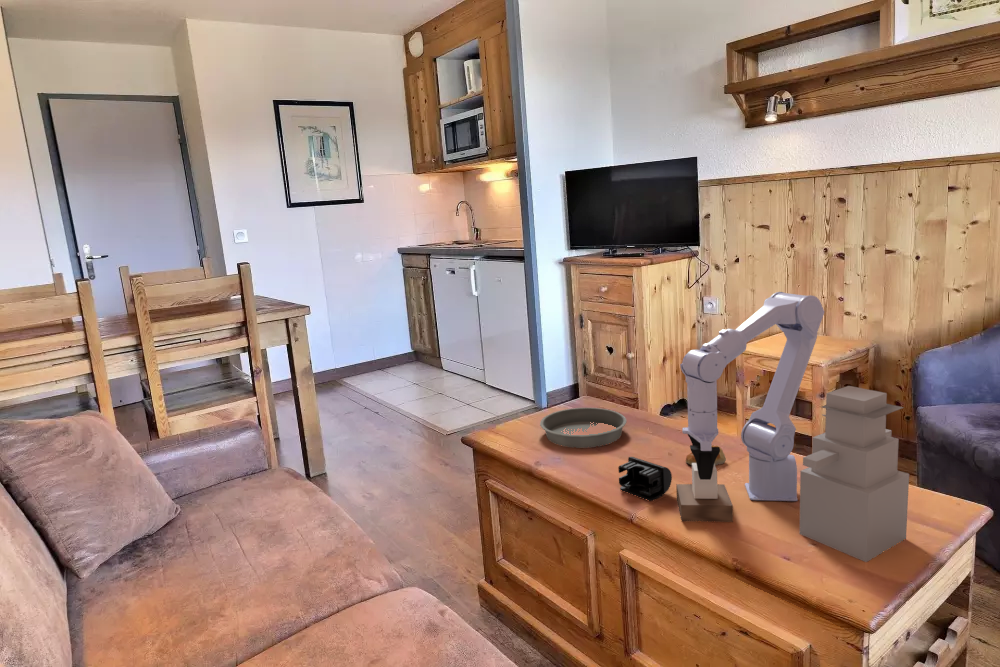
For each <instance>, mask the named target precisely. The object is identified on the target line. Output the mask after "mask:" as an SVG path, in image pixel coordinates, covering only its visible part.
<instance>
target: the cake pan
mask: <svg viewBox="0 0 1000 667" xmlns="http://www.w3.org/2000/svg"><path fill="white" fill-rule="evenodd" d="M590 422H591V423H593V422H594V423H593V424H594V426H596V425H597V424H598V423H604V424H608V425H612V426H614V427H616V429H613V430H611V431H607V432H603V433H598V434H589V435H571V431H572V432H573V431H574V429H575V432H576V431H577V429H578V428H579V429H581V428H582V431H583V432H584V430H585V429H586V430H587V429H588V428H589V427H590V424H591V423H590ZM627 422H628V421H627V417H625V416H624V415H623V414H622V413H620V412H618V411H616V410H615V411H614V410H611V409H607V408H600V407H576V408H575V407H573V408H567V409H561V410H557V411H554V412H551V413H549V414H546V415H545V416H544V417H542V419H541V420H540V422H539V426H540V428H541V429H542V430H544V431H545V436H546V438H547V440H548V441H549V442H550V443H553V444H555V445H557V444H558V445H557V446H561V445H562V447H566V446H567V447H566V448H574V447H576V449H580V448H581V449H583V448H585V449H587V448H588V447H589V448H596V446H598V447H602V445H603V446H607V445H610V444H612V442H613V443H614V441H615V442H617V441H618V440H619V439H620V438H621V437H620V436H622V434H623V433H622V432H623V428H624V427H626V424H627ZM596 423H597V424H596ZM593 424H591V426H592V425H593ZM592 427H593V426H592ZM565 428H566V429H565ZM564 429H565V432H567V431H569V434H570V435H569V434H567V433H568V432H567V433H566V434H564V433H563V432H564V431H563V430H564ZM568 429H569V430H568ZM571 429H572V430H571ZM566 430H567V431H566ZM586 430H585V431H586ZM561 431H562V432H561ZM579 431H580V430H579ZM579 431H578V432H579ZM586 432H587V431H586ZM573 433H574V432H573ZM573 433H572V434H573ZM617 439H618V440H617ZM609 443H610V444H609ZM606 444H607V445H606Z"/></svg>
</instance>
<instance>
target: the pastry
mask: <svg viewBox="0 0 1000 667" xmlns="http://www.w3.org/2000/svg"><path fill="white" fill-rule="evenodd" d="M712 447H719V448H720V453H719V455H718V456H717V458H716V460H715V463H714V464H715V466H719V465H722V464H724V463H725V462H726V461H727V457H726V455H725V453H724V451H723V449H722V448H721V446H720V445H714V444H713V445H712ZM685 463H686V464H688V465H690V466H692V463H696V460H695V457H694V455H693V454H692V452H690V453H689V454H687V455H686V457H685ZM718 464H719V465H718Z"/></svg>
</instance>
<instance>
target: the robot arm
mask: <svg viewBox="0 0 1000 667" xmlns="http://www.w3.org/2000/svg"><path fill="white" fill-rule="evenodd" d="M824 315H825V310H824V307H823V305H822V302H821V300H820V299H819V298H818V297H817V296H815V295H811V294H810V295H804V294H803V295H802V294H797V293H796V294H795V293H787V292H783V291H776V292H774V293H772V294H771V295H770V296H769V297H767V298H766V299H765V300H764V301H763V305H762V306H761V307H760V308H759V309H758V310H757V311H755V312H754V313H753V314H752V315H750V316H749V318H747V319H746V320H745V321H744V322H742V323H741V324H740V325H739V326H738V327H737V328H735V329H734V328H727V329H724V328H723V329H720V331H718V335H716V336H714V338H712V339H711V340H710V341H708V342H707V343H706V342H705V343H703V344H702V345H701V347H700V348H699V349H691V350H689V351H688V352H687V353H686V354H685V355H684V357H683V359H682V363H680V364H679V366H680V370H681V372H682V374H684V377H685V383H686V384H687V385H686V386H687V387H686V388H687V389H686V390H687V427H682V431H681V432H682V434H684V435H685V434H686V435H687V436H688V437H689V439H690V442H691V444H690V446H689V448H690V453H692V454H693V455H694V457H695V460H696V463H697V469H698V474H699V478H700V479H702V480H710V479H711V476H712V472H713V467H714V463H715V460H716V458H717V456H718V455H719V453H720V448H721V447H720V446H719V447H720V448H719V447H712V443H713V441H714V440H715V439H716V437H717V436H718V435H719V428H718V393H717V391H718V389H717V388H718V385H717V383H718V380H719V379H720V378H721V376H722V374H723V372H724V370H725V368H727V365H728V364H729V363H731V362H733V361H734V360H735V359H736V358H737V357H739V356H740V355H742V354H743V353H745V351H747V350H746V349H747V344H748V343H749V342H750V341H752V340H753V339H755V338H756V337H758V336H759V335H761V334H762V333H764V332H766V331H767V330H769V329H770V328H771V327H773V326H775V325H776V326H777V327H778V328H779V330H781V332H783V334H784V337H785V338H786V341H785V345H784V347H783V350H782V352H781V355H780V358H779V361H778V364H777V366H776V370H775V372H774V375H773V378H772V381H771V383H770V387H769V389H768V391H767V394H766V397H765V400H764V403H763V406H762V407H761V408H759V409H757V410H755V411H752V413H751V414H750V417H749V419H748V420H747V421H746V423H745V424H744V426H743V427H742V429H741V432H740V438H741V441H742V444H743V445H744V446H745V447H746V451H747V452H748V482H745V483H744V487H745V490H746V492H747V494H748V498H749V499H750V501H775V502H776V501H778V502H779V501H780V502H782V501H783V502H786V501H787V502H798V491H797V490H798V486H797V485H798V465H797V459H796V457H795V455H794V454H791V453H792V451H793V449H794V444H795V443H794V442H795V433H796V431H797V429H796V426H795V424H794V423H793V421H792V419H791V418H790V415H791V413H792V412H791V411H792V408H793V406H794V403H795V400H796V397H797V395H798V392H799V391H800V390H799V389H800V387H801V384H802V381H803V378H804V375H805V373H806V370H807V367H808V365H809V364H808V363H810V359H811V356H812V353H813V350H814V347H815V345H816V343H817V339H818V331H819V328H820V325H821V323H822V321H823V318H824ZM770 424H772V425H770Z"/></svg>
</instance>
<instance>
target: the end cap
mask: <svg viewBox="0 0 1000 667" xmlns="http://www.w3.org/2000/svg"><path fill="white" fill-rule="evenodd" d="M627 459H628V460H627V462H626V463H623V464H621V465H619V466H618V473H619V474H621V473H623V472H625V471H626V474H624V475H622V476H619V477H618V484H619V485H620V487H619V489H620V491H621V490H622V491H621V492H623V491H625V492H624V493H626V492H628V493H627V494H629V493H630V495H631V494H633V495H632V496H634V495H636V496H635V497H637V496H638V497H637V498H639V497H641V498H640V499H642V498H644V499H643V500H645V499H647V500H649V502H654V501H655V499H656V500H657V499H659V498H662V497H663V496H664V495H665V494H666V493H667V492H668V490H669V489H670V487H671V485H672V481H673V476H672V475H673V474H672V472H671V470H670V469H669V468H668V467H665V466H663V465H661V464H660V465H659V464H657V463H653V462H650V461H647V460H645V459H644V460H643V459H641V458H638V457H635V456H628V458H627ZM647 500H646V501H647ZM653 500H654V501H653Z"/></svg>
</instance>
